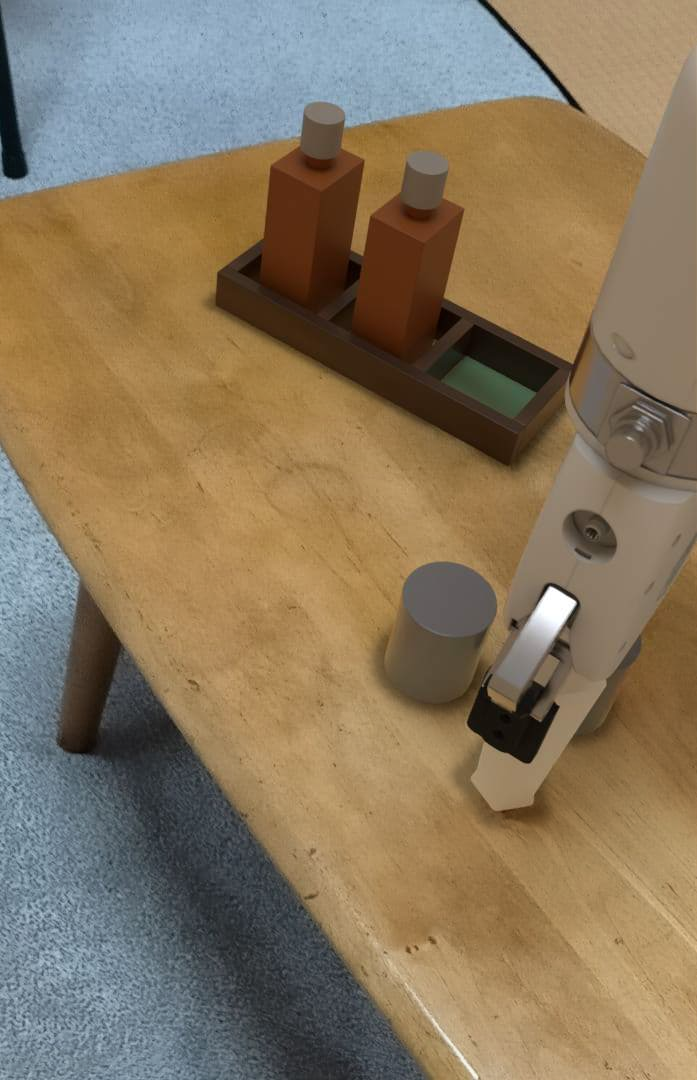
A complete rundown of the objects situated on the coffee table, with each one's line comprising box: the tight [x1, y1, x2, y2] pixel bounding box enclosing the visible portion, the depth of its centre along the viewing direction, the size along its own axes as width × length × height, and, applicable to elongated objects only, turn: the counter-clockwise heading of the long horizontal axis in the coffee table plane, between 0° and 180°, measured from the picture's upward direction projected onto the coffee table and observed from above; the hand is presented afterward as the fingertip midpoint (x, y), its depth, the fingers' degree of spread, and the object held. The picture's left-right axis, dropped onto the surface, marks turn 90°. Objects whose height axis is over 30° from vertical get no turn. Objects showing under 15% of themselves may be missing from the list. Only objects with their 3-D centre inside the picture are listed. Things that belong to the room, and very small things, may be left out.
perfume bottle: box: [470, 623, 606, 812], centre depth 59 cm, size 5×4×15 cm
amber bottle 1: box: [259, 101, 366, 314], centre depth 82 cm, size 4×5×15 cm
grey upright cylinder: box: [383, 561, 498, 705], centre depth 66 cm, size 5×5×7 cm
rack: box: [214, 237, 573, 467], centre depth 85 cm, size 9×24×4 cm, turn 56°
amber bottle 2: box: [349, 149, 465, 365], centre depth 80 cm, size 4×5×15 cm
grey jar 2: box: [573, 632, 643, 737], centre depth 66 cm, size 5×5×7 cm
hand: (551, 669), depth 56 cm, fingers open, 9 cm apart
